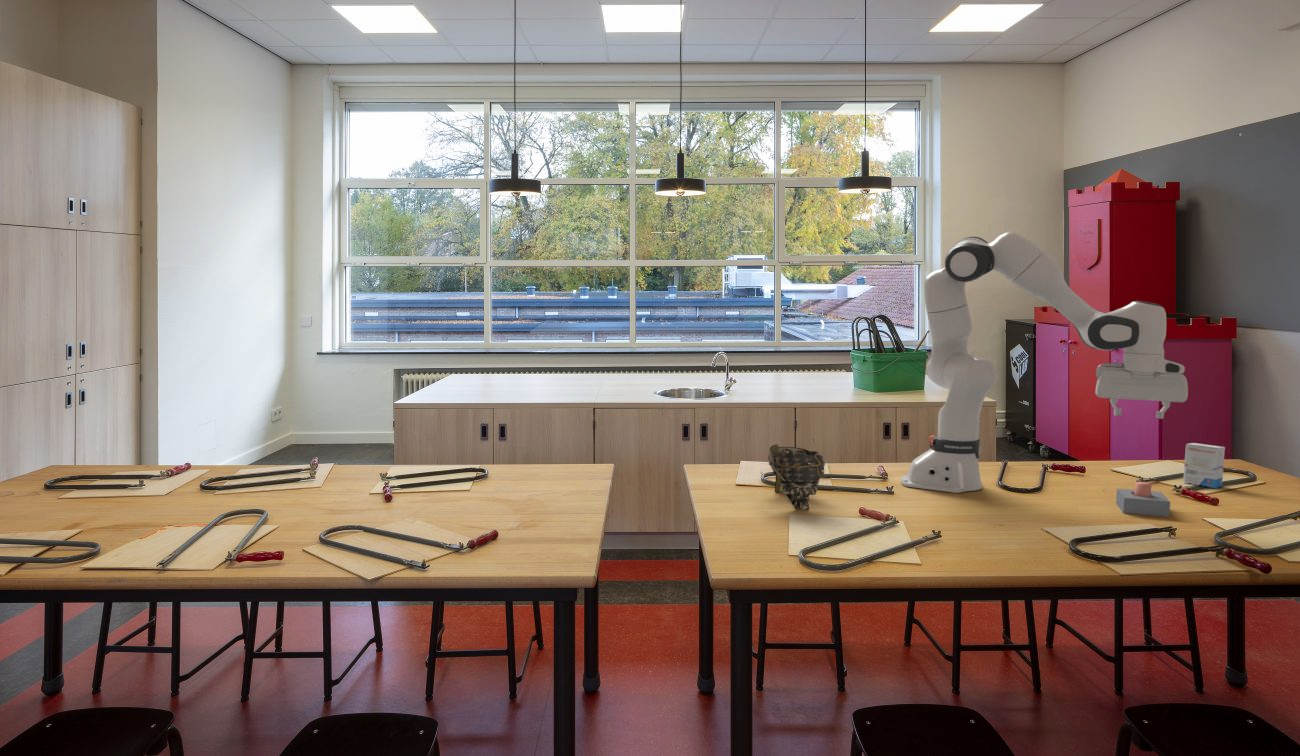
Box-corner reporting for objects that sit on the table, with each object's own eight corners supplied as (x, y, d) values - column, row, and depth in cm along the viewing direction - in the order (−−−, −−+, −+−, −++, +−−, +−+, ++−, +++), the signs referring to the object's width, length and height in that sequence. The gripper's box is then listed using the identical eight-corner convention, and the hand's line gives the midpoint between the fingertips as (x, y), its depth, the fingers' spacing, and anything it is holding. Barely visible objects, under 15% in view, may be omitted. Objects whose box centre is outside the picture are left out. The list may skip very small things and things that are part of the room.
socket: (1123, 513, 197) (1124, 497, 196) (1116, 502, 206) (1116, 488, 205) (1169, 516, 193) (1170, 501, 193) (1159, 506, 202) (1160, 491, 202)
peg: (1134, 510, 199) (1136, 484, 198) (1132, 507, 202) (1133, 481, 201) (1151, 512, 197) (1153, 485, 196) (1148, 508, 201) (1149, 482, 200)
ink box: (1223, 486, 222) (1226, 446, 221) (1216, 488, 219) (1219, 448, 218) (1189, 480, 229) (1192, 441, 228) (1182, 482, 226) (1185, 443, 225)
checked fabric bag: (760, 493, 223) (762, 442, 222) (812, 494, 223) (814, 443, 222) (775, 510, 200) (777, 453, 200) (833, 511, 201) (835, 454, 200)
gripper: (1098, 363, 200) (1094, 415, 201) (1192, 367, 192) (1187, 421, 193) (1095, 361, 205) (1091, 412, 207) (1185, 365, 198) (1180, 418, 199)
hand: (1138, 417), depth 200 cm, fingers open, 8 cm apart
